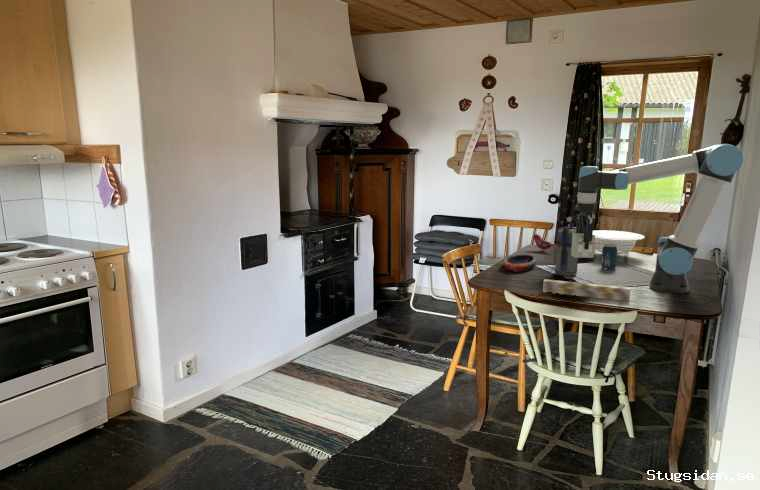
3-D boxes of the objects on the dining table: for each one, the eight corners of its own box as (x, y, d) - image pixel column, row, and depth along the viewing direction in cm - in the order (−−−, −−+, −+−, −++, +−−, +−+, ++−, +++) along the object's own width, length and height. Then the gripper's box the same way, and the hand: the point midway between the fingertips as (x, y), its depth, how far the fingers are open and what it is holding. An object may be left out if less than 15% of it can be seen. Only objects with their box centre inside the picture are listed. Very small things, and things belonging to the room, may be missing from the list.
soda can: (613, 267, 272) (615, 244, 270) (617, 270, 265) (619, 246, 263) (599, 266, 273) (601, 244, 270) (603, 269, 266) (605, 246, 264)
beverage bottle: (550, 276, 255) (553, 225, 250) (558, 270, 265) (561, 221, 260) (572, 279, 249) (575, 227, 244) (579, 273, 260) (582, 223, 255)
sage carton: (588, 255, 234) (590, 233, 232) (593, 257, 229) (595, 235, 227) (570, 255, 234) (572, 233, 232) (575, 257, 229) (577, 235, 227)
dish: (542, 263, 282) (543, 254, 281) (525, 275, 256) (525, 265, 255) (514, 260, 290) (514, 251, 289) (494, 271, 265) (494, 262, 264)
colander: (652, 256, 295) (654, 234, 292) (629, 266, 273) (631, 242, 271) (596, 248, 318) (597, 228, 315) (571, 256, 296) (572, 234, 294)
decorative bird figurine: (533, 249, 317) (534, 233, 315) (559, 254, 303) (560, 237, 301) (530, 250, 315) (531, 233, 313) (557, 254, 302) (558, 237, 300)
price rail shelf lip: (629, 299, 217) (630, 287, 216) (629, 301, 213) (630, 289, 212) (543, 290, 231) (544, 279, 230) (542, 292, 227) (543, 281, 226)
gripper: (570, 199, 236) (566, 250, 240) (585, 204, 218) (581, 259, 222) (586, 200, 236) (582, 250, 240) (603, 205, 218) (599, 259, 222)
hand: (582, 254), depth 231 cm, fingers closed on sage carton, 5 cm apart
